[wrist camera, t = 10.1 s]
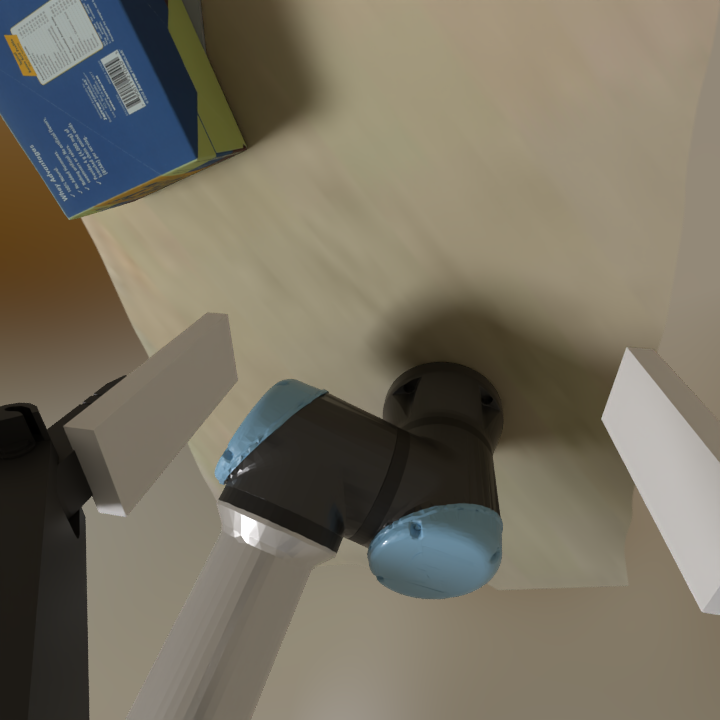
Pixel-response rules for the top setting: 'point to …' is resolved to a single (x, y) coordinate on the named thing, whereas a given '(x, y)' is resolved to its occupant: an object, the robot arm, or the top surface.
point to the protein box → (110, 98)
